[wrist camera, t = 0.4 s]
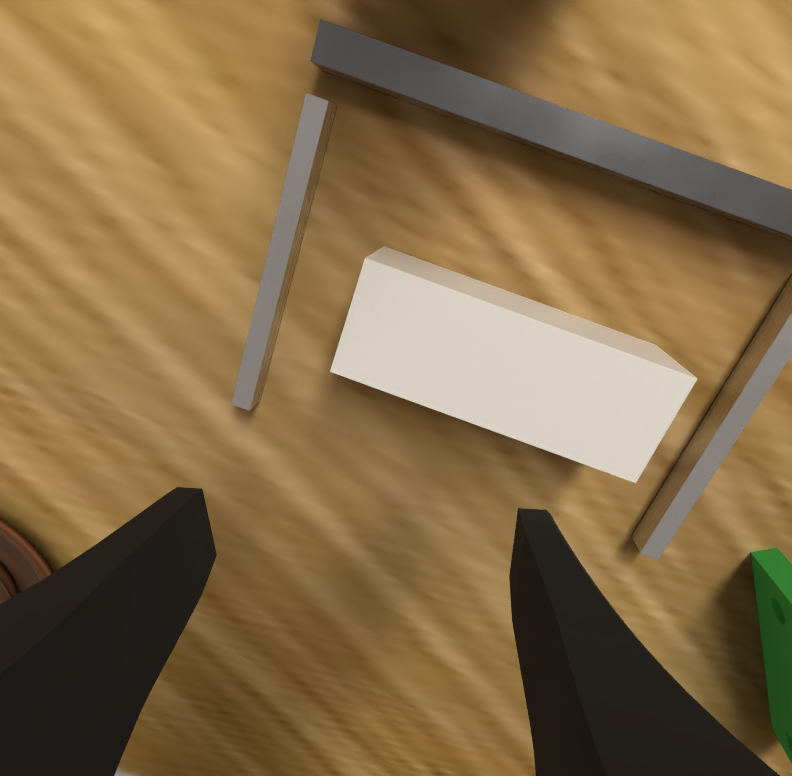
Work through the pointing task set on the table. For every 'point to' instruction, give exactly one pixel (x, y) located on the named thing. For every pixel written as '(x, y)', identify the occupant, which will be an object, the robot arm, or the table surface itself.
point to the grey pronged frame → (564, 137)
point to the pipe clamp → (776, 636)
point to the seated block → (509, 364)
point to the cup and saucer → (18, 563)
